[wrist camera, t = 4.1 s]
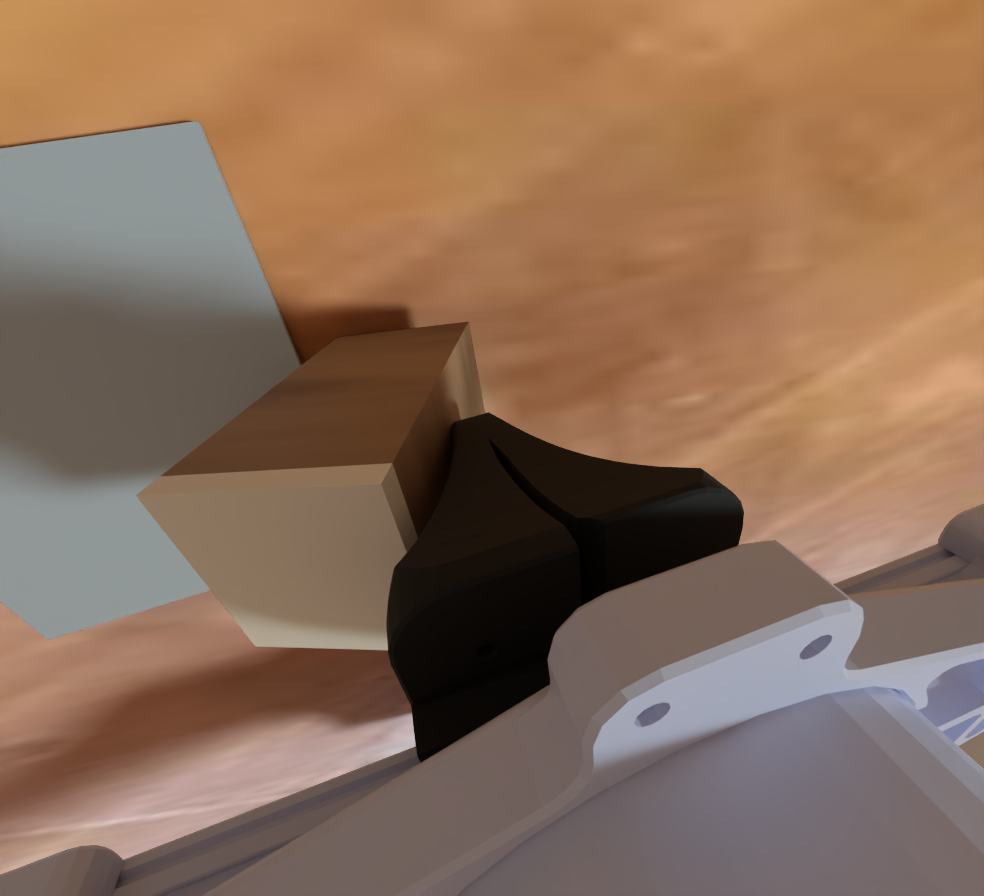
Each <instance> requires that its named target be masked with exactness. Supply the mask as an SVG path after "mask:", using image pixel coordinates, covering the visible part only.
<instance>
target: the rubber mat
mask: <svg viewBox="0 0 984 896" xmlns="http://www.w3.org/2000/svg"><path fill="white" fill-rule="evenodd" d="M301 365H302V363H301V361H300V359H299V356H298V354H297V352H296V349H295V347H294V344H293V342H292V340H291V337H290V335H289V333H288V330H287V328H286V325H285V323H284V321H283V318H282V316H281V314H280V311H279V309H278V306H277V304H276V302H275V299H274V297H273V295H272V292H271V290H270V288H269V285H268V283H267V280H266V278H265V276H264V273H263V271H262V269H261V266H260V264H259V261H258V259H257V257H256V254H255V252H254V250H253V247H252V245H251V242H250V240H249V238H248V235H247V233H246V231H245V228H244V226H243V223H242V221H241V219H240V216H239V214H238V212H237V209H236V207H235V204H234V202H233V200H232V197H231V195H230V193H229V190H228V188H227V185H226V183H225V181H224V178H223V176H222V174H221V171H220V169H219V167H218V164H217V162H216V159H215V157H214V155H213V152H212V150H211V148H210V145H209V143H208V140H207V138H206V136H205V133H204V131H203V129H202V126H201V124H200V122H198V121H193V122H185V123H178V124H171V125H164V126H157V127H150V128H143V129H136V130H129V131H122V132H114V133H107V134H100V135H93V136H86V137H79V138H72V139H65V140H58V141H50V142H43V143H36V144H29V145H22V146H15V147H8V148H1V149H0V602H1V603H3V604H4V605H5V606H6V607H8V608H9V609H10V610H11V611H13V612H14V613H15V614H16V615H18V616H19V617H20V618H21V619H22V620H24V621H25V622H26V623H27V624H29V625H30V626H31V627H32V628H34V629H35V630H36V631H37V632H39V633H40V634H41V635H42V636H44V637H45V638H46V639H47V640H50V639H53V638H57V637H60V636H63V635H66V634H70V633H73V632H76V631H79V630H83V629H86V628H89V627H92V626H96V625H99V624H102V623H105V622H109V621H112V620H115V619H118V618H122V617H125V616H128V615H131V614H135V613H138V612H141V611H144V610H148V609H151V608H154V607H157V606H161V605H164V604H167V603H170V602H174V601H177V600H180V599H183V598H187V597H190V596H193V595H196V594H200V593H203V592H206V591H209V590H210V589H209V587H208V586H207V585H206V584H205V582H204V581H203V580H202V579H201V577H200V576H199V575H198V574H197V572H196V571H195V570H194V568H193V567H192V566H191V565H190V563H189V562H188V561H187V560H186V558H185V557H184V556H183V555H182V553H181V552H180V551H179V550H178V548H177V547H176V546H175V545H174V543H173V542H172V541H171V540H170V538H169V537H168V536H167V534H166V533H165V532H164V531H163V529H162V528H161V527H160V526H159V524H158V523H157V522H156V521H155V519H154V518H153V517H152V516H151V514H150V513H149V512H148V511H147V509H146V508H145V507H144V506H143V504H142V503H141V502H140V501H139V499H138V498H137V497H136V495H137V494H138V493H140V492H141V491H142V490H143V489H145V488H146V487H147V486H149V485H150V484H151V483H152V482H154V481H155V480H156V479H157V478H159V477H160V476H161V475H163V474H164V473H165V472H166V471H168V470H169V469H170V468H171V467H173V466H174V465H175V464H176V463H178V462H179V461H180V460H182V459H183V458H184V457H185V456H187V455H188V454H189V453H190V452H192V451H193V450H194V449H196V448H197V447H198V446H199V445H201V444H202V443H203V442H204V441H206V440H207V439H208V438H210V437H211V436H212V435H213V434H215V433H216V432H217V431H218V430H220V429H221V428H222V427H224V426H225V425H226V424H227V423H229V422H230V421H231V420H232V419H234V418H235V417H236V416H238V415H239V414H240V413H241V412H243V411H244V410H245V409H246V408H248V407H249V406H250V405H252V404H253V403H254V402H255V401H257V400H258V399H259V398H260V397H262V396H263V395H264V394H266V393H267V392H268V391H269V390H271V389H272V388H273V387H274V386H276V385H277V384H278V383H280V382H281V381H282V380H283V379H285V378H286V377H287V376H288V375H290V374H291V373H292V372H293V371H295V370H296V369H297V368H299V367H300V366H301Z"/></svg>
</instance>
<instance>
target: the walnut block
mask: <svg viewBox="0 0 984 896" xmlns="http://www.w3.org/2000/svg"><path fill="white" fill-rule="evenodd" d="M481 414H485V409H484V404H483V398H482V393H481V387H480V382H479V376H478V371H477V365H476V360H475V354H474V349H473V343H472V338H471V332H470V327H469V322H462V323H454V324H446V325H437V326H429V327H420V328H412V329H403V330H395V331H386V332H378V333H369V334H361V335H353V336H344V337H337V338H335V339H334V340H333V341H332V342H330V343H329V344H328V345H327V346H325V347H324V348H323V349H321V350H320V351H319V352H318V353H316V354H315V355H314V356H313V357H311V358H310V359H309V360H307V361H306V362H305V363H304V364H302V365H301V366H300V367H299V368H297V369H296V370H295V371H293V372H292V373H291V374H290V375H288V376H287V377H286V378H285V379H283V380H282V381H281V382H280V383H278V384H277V385H276V386H274V387H273V388H272V389H271V390H269V391H268V392H267V393H266V394H264V395H263V396H262V397H260V398H259V399H258V400H257V401H255V402H254V403H253V404H252V405H250V406H249V407H248V408H246V409H245V410H244V411H243V412H241V413H240V414H239V415H238V416H236V417H235V418H234V419H232V420H231V421H230V422H229V423H227V424H226V425H225V426H224V427H222V428H221V429H220V430H218V431H217V432H216V433H215V434H213V435H212V436H211V437H210V438H208V439H207V440H206V441H204V442H203V443H202V444H201V445H199V446H198V447H197V448H196V449H194V450H193V451H192V452H190V453H189V454H188V455H187V456H185V457H184V458H183V459H182V460H180V461H179V462H178V463H176V464H175V465H174V466H173V467H171V468H170V469H169V470H168V471H166V472H165V473H164V474H163V475H161V476H160V477H159V478H157V479H156V480H155V481H154V482H152V483H151V484H150V485H149V486H147V487H146V488H145V489H143V490H142V491H141V492H140V493H138V494H137V495H136V497H137V498H138V499H139V501H140V502H141V503H142V504H143V506H144V507H145V508H146V509H147V511H148V512H149V513H150V514H151V516H152V517H153V518H154V519H155V521H156V522H157V523H158V524H159V526H160V527H161V528H162V529H163V531H164V532H165V533H166V534H167V536H168V537H169V538H170V540H171V541H172V542H173V543H174V545H175V546H176V547H177V548H178V550H179V551H180V552H181V553H182V555H183V556H184V557H185V558H186V560H187V561H188V562H189V563H190V565H191V566H192V567H193V568H194V570H195V571H196V572H197V574H198V575H199V576H200V577H201V579H202V580H203V581H204V582H205V584H206V585H207V586H208V587H209V589H210V590H211V591H212V592H213V594H214V595H215V596H216V597H217V599H218V600H219V601H220V602H221V604H222V605H223V606H224V607H225V609H226V610H227V611H228V613H229V614H230V615H231V616H232V618H233V619H234V620H235V621H236V623H237V624H238V625H239V626H240V628H241V629H242V630H243V631H244V633H245V634H246V635H247V636H248V638H249V639H250V640H251V641H252V643H253V644H254V645H255V646H259V647H293V648H326V649H360V650H388V643H387V629H386V621H387V606H388V597H389V591H390V585H391V580H392V575H393V570H394V567H395V566H396V564H397V563H398V562H399V561H400V560H401V559H402V558H403V557H404V555H405V554H406V553H407V552H408V551H409V550H410V548H411V547H412V546H413V545H414V544H415V542H416V541H417V539H418V538H419V536H420V535H421V533H422V532H423V530H424V528H425V527H426V525H427V524H428V522H429V520H430V519H431V517H432V515H433V513H434V511H435V509H436V507H437V505H438V502H439V500H440V498H441V496H442V493H443V490H444V488H445V485H446V482H447V478H448V475H449V470H450V466H451V461H452V455H453V445H454V436H453V432H452V424H453V422H455V421H458V420H462V419H466V418H470V417H473V416H477V415H481Z"/></svg>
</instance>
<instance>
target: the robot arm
mask: <svg viewBox="0 0 984 896" xmlns="http://www.w3.org/2000/svg"><path fill="white" fill-rule="evenodd" d="M452 432H453V436H454V445H453V455H452V461H451V466H450V470H449V475H448V478H447V482H446V485H445V488H444V490H443V493H442V496H441V498H440V500H439V502H438V505H437V507H436V509H435V511H434V513H433V515H432V517H431V519H430V520H429V522H428V524H427V525H426V527H425V528H424V530H423V532H422V533H421V535H420V536H419V538H418V539H417V541H416V542H415V544H414V545H413V546H412V547H411V548H410V550H409V551H408V552H407V553H406V554H405V555H404V557H403V558H402V559H401V560H400V561H399V562H398V563H397V564H396V566H395V567H394V570H393V575H392V580H391V585H390V591H389V597H388V606H387V621H386V629H387V643H388V654H389V658H390V662H391V666H392V668H393V670H394V672H395V674H396V676H397V678H398V680H399V682H400V684H401V686H402V688H403V690H404V692H405V694H406V696H407V698H408V700H409V702H410V704H411V707H412V716H413V725H414V733H415V742H416V747H413V748H410V749H408V750H405V751H403V752H400V753H398V754H395V755H392V756H390V757H387V758H385V759H382V760H380V761H377V762H374V763H372V764H369V765H367V766H364V767H362V768H359V769H356V770H354V771H351V772H349V773H346V774H343V775H341V776H338V777H336V778H333V779H331V780H328V781H325V782H323V783H320V784H318V785H315V786H313V787H310V788H307V789H305V790H302V791H300V792H297V793H295V794H292V795H289V796H287V797H284V798H282V799H279V800H277V801H274V802H271V803H269V804H266V805H264V806H261V807H258V808H256V809H253V810H251V811H248V812H246V813H243V814H240V815H238V816H235V817H233V818H230V819H228V820H225V821H222V822H220V823H217V824H215V825H212V826H210V827H207V828H204V829H202V830H199V831H197V832H194V833H192V834H189V835H186V836H184V837H181V838H179V839H176V840H173V841H171V842H168V843H166V844H163V845H161V846H158V847H155V848H153V849H150V850H148V851H145V852H143V853H140V854H137V855H135V856H132V857H130V858H127V859H125V860H123V859H122V858H121V857H120V856H119V855H118V854H116V853H115V852H114V851H112V850H110V849H108V848H106V847H102V846H97V845H91V846H80V847H76V848H72V849H68V850H65V851H62V852H60V853H57V854H54V855H52V856H49V857H46V858H44V859H41V860H39V861H36V862H33V863H31V864H28V865H25V866H23V867H20V868H17V869H15V870H12V871H9V872H7V873H4V874H1V875H0V896H984V769H983V768H982V767H981V766H980V765H978V764H977V763H976V762H975V761H974V760H973V759H972V758H971V757H969V756H968V755H967V754H966V753H965V752H964V751H963V750H962V749H961V748H959V747H958V746H959V745H961V744H963V743H964V742H966V741H968V740H969V739H971V738H973V737H975V736H976V735H978V734H980V733H982V732H983V731H984V504H982V505H979V506H977V507H974V508H971V509H969V510H966V511H964V512H962V513H960V514H958V515H957V516H955V517H954V518H953V519H952V520H951V521H950V522H949V523H948V524H947V525H946V527H945V528H944V530H943V531H942V533H941V535H940V537H939V539H938V544H936V545H933V546H931V547H928V548H926V549H923V550H920V551H918V552H915V553H913V554H910V555H908V556H905V557H902V558H900V559H897V560H895V561H892V562H890V563H887V564H884V565H882V566H879V567H877V568H874V569H871V570H869V571H866V572H864V573H861V574H859V575H856V576H853V577H851V578H848V579H846V580H843V581H841V582H838V583H835V584H832V583H831V582H830V581H828V580H827V579H826V578H825V577H823V576H822V575H821V574H820V573H818V572H817V571H816V570H815V569H813V568H812V567H811V566H810V565H808V564H807V563H806V562H805V561H803V560H802V559H801V558H800V557H798V556H797V555H796V554H795V553H793V552H792V551H791V550H789V549H788V548H786V547H785V546H783V545H782V544H780V543H779V542H777V541H776V540H773V541H762V542H755V543H748V544H741V545H739V546H738V544H739V540H740V536H741V532H742V527H743V516H744V511H743V507H742V504H741V501H740V500H739V499H738V498H737V496H736V495H735V494H734V493H733V492H732V491H730V490H729V489H728V488H726V487H725V486H724V485H722V484H721V483H720V482H718V481H717V480H716V479H714V478H713V477H712V476H711V475H709V474H708V473H707V472H705V471H704V470H702V469H701V468H678V467H655V466H646V465H637V464H629V463H622V462H616V461H611V460H606V459H601V458H596V457H592V456H588V455H584V454H580V453H577V452H574V451H570V450H567V449H564V448H561V447H558V446H555V445H553V444H550V443H548V442H546V441H543V440H541V439H538V438H536V437H534V436H532V435H530V434H528V433H526V432H524V431H522V430H520V429H518V428H516V427H514V426H512V425H510V424H508V423H507V422H505V421H503V420H501V419H500V418H498V417H496V416H494V415H492V414H490V413H485V414H481V415H477V416H473V417H470V418H466V419H462V420H458V421H455V422H453V424H452Z"/></svg>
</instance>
